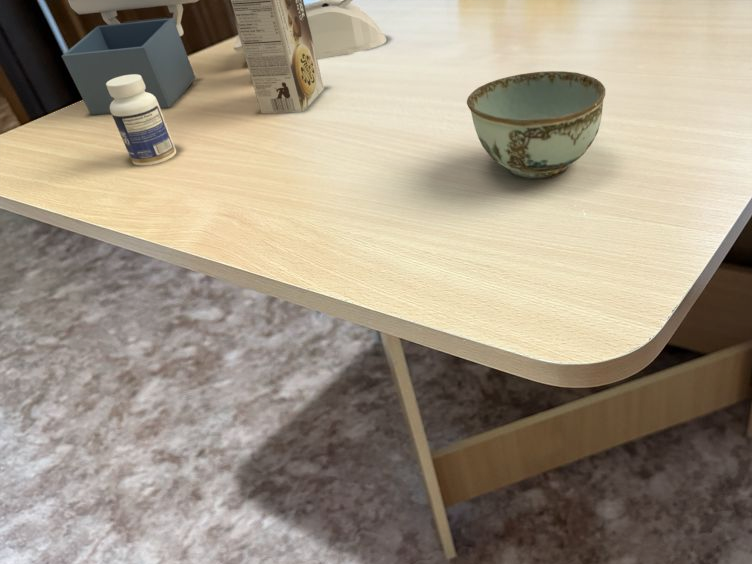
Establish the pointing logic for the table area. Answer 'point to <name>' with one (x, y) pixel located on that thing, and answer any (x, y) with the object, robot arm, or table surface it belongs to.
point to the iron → (338, 29)
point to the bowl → (537, 120)
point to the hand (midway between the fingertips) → (152, 38)
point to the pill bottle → (140, 121)
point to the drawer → (130, 61)
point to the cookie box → (278, 53)
